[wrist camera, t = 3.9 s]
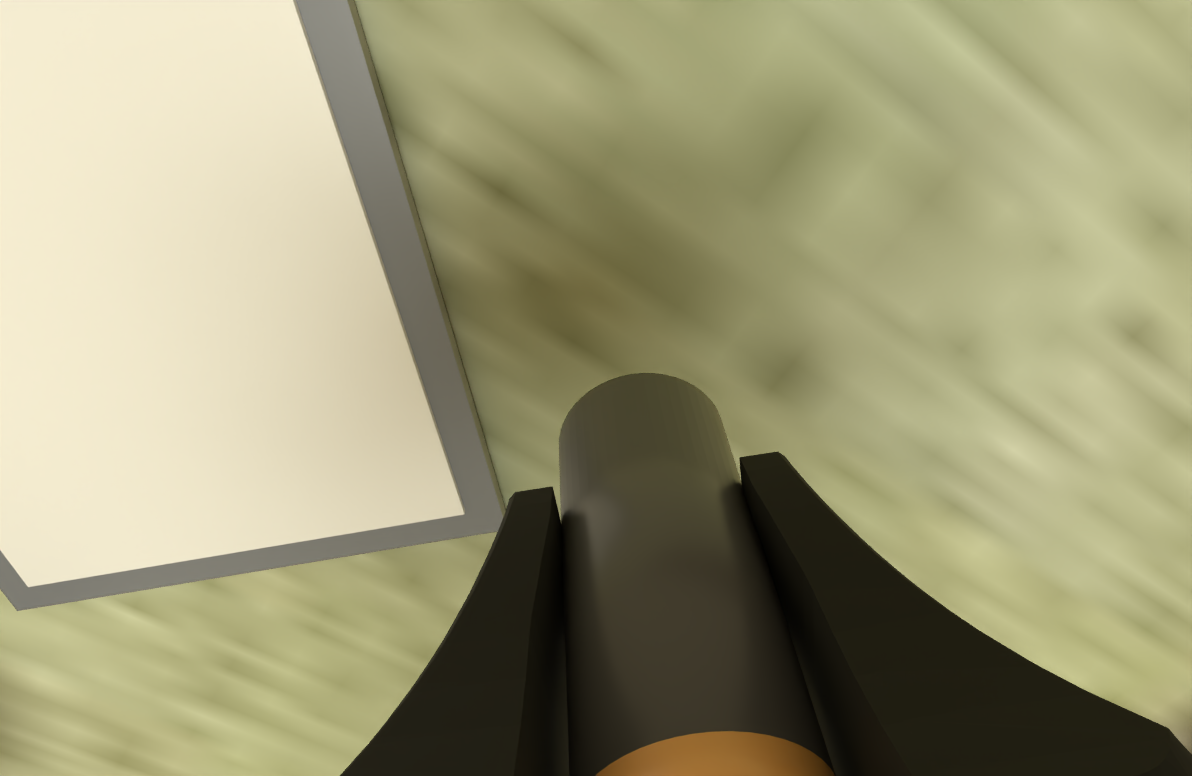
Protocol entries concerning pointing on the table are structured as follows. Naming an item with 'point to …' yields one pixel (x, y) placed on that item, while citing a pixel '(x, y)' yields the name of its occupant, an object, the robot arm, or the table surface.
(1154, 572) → the table surface
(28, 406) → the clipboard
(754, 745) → the marker
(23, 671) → the table surface
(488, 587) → the robot arm
